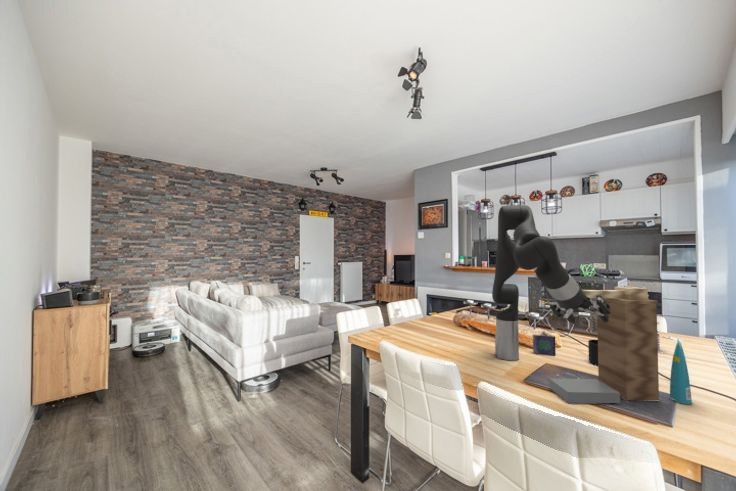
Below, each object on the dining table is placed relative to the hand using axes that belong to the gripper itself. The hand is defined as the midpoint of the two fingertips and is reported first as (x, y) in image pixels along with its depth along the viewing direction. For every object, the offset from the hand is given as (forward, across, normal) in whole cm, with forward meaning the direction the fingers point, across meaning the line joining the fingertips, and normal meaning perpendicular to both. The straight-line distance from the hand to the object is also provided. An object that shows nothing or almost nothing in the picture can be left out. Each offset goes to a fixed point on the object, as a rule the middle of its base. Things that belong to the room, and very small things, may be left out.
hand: (589, 320), depth 91 cm
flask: (+41, -35, +12) cm, 56 cm away
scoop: (+9, +2, +15) cm, 18 cm away
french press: (+81, -8, +38) cm, 90 cm away
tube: (+40, +9, -4) cm, 41 cm away
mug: (+51, -15, +14) cm, 55 cm away
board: (+20, -10, -15) cm, 27 cm away
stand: (+33, -2, -6) cm, 34 cm away
